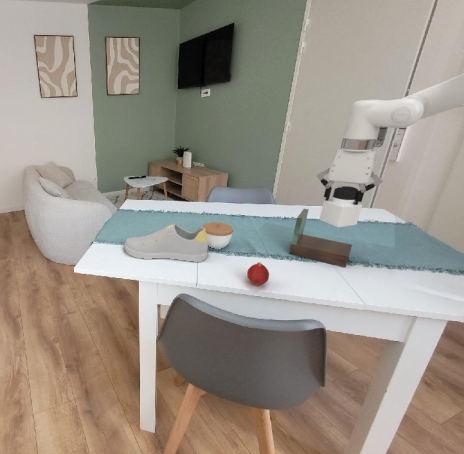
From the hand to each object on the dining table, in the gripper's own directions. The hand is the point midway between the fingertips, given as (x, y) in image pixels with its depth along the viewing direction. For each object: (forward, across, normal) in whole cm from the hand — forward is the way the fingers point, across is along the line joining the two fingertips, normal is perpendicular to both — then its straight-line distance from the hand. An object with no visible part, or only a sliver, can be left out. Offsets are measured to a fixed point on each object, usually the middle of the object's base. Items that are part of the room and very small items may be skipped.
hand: (341, 201), depth 93 cm
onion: (+20, +13, +32) cm, 40 cm away
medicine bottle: (+8, 0, 0) cm, 8 cm away
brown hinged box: (+20, +2, 0) cm, 20 cm away
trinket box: (+20, +33, +14) cm, 42 cm away
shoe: (+20, +45, +32) cm, 59 cm away
